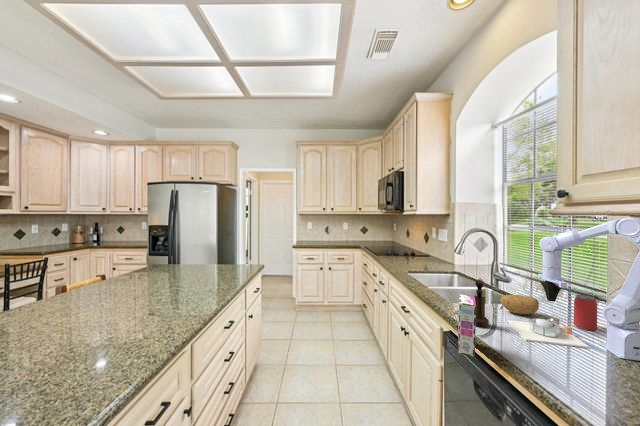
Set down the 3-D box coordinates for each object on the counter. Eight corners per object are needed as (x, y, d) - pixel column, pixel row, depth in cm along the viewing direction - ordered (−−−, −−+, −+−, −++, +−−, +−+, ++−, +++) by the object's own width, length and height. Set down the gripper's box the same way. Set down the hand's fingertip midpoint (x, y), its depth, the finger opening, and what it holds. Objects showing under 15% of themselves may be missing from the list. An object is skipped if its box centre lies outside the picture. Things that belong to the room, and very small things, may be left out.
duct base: (589, 348, 91) (589, 334, 91) (525, 340, 96) (525, 327, 96) (560, 327, 107) (560, 315, 107) (507, 321, 112) (507, 310, 112)
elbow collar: (552, 338, 96) (552, 329, 96) (525, 329, 103) (525, 320, 103) (569, 330, 102) (569, 322, 102) (543, 322, 109) (543, 314, 109)
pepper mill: (478, 320, 114) (479, 277, 113) (492, 326, 107) (493, 281, 107) (466, 322, 111) (466, 278, 111) (479, 329, 105) (480, 282, 105)
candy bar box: (475, 357, 85) (476, 305, 85) (457, 354, 87) (458, 303, 87) (474, 342, 95) (475, 295, 95) (458, 339, 97) (458, 293, 97)
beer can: (601, 332, 103) (602, 300, 103) (581, 330, 104) (581, 299, 104) (588, 324, 109) (589, 295, 109) (569, 323, 111) (569, 294, 110)
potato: (498, 307, 128) (498, 290, 128) (535, 312, 122) (535, 294, 122) (502, 314, 119) (502, 296, 119) (542, 320, 113) (542, 301, 113)
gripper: (576, 271, 100) (576, 308, 100) (551, 263, 114) (551, 295, 114) (554, 270, 101) (554, 306, 102) (532, 263, 116) (532, 294, 116)
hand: (551, 300), depth 108 cm, fingers closed
